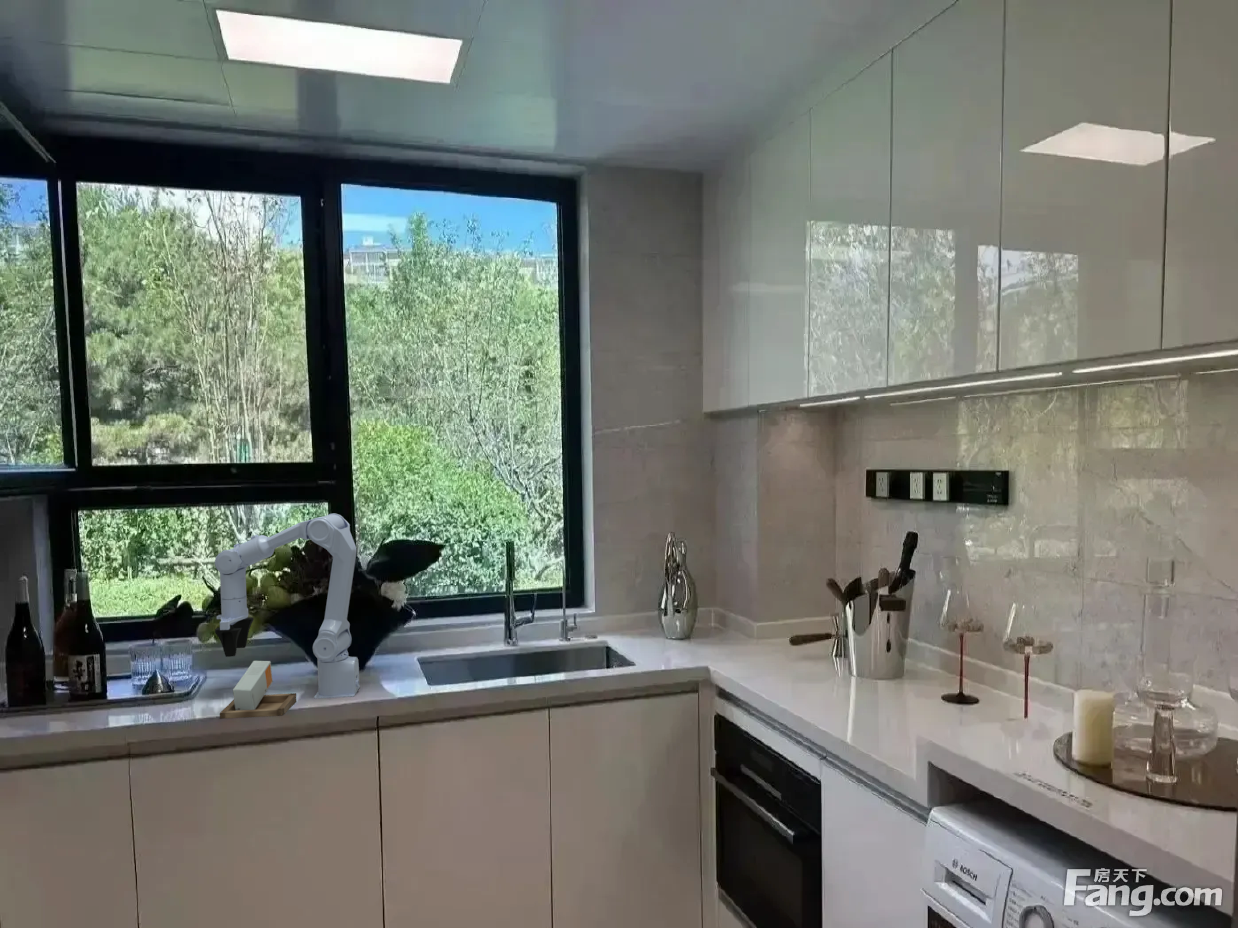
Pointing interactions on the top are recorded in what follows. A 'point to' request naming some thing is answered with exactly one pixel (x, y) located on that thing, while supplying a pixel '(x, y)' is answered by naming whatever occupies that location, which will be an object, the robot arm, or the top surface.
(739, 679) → the top surface
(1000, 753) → the top surface
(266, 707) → the tray
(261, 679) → the skincare box
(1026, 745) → the top surface
